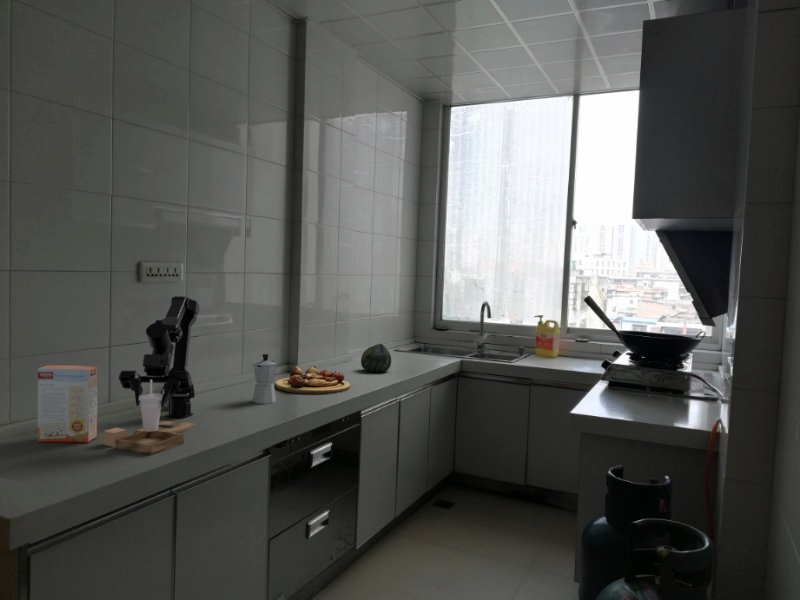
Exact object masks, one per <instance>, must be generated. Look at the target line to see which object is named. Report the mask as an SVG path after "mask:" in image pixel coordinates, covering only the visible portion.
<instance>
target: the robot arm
mask: <svg viewBox="0 0 800 600" xmlns="http://www.w3.org/2000/svg"><path fill="white" fill-rule="evenodd" d="M199 313H200V304H199V303H198V301H196V300H194V299H191V298H190V297H188V296H185V295H184V296H179V295H178V296H177V295H176V296H175V295H174V296H172V297H171V300H170V305H169V308H168V310H167V312H166V314H165V317H164V318H162V319H156V320H155V322H154V323H151V324H150V325H148V326H147V327H146V329H145V333H146V337H147V340H148V343H149V346H150V349H151V348H152V351H151V353H150V354H149V353H146V354H144V355H143V359H142V367H144V369H143V371H144V372H143V373H146V374H140V373H138V372H137V371H136V370H133V369H132V370H130V369H128V370H127V369H126V370H124V369H123V370H121V371H120V373H119V375H118V380H119V382H120V384H121V387H122V388H123V389H125V390H126V389H127V390H128V389H129V390H131V391H133V392H134V399H135V405H136V407H139V406H140V400H139V396H140V395H142V394H143V391H144V389H143V385H142V383H149V384H150V379H152V384H163V398H162V403H161V407H164V406H165V405H166V404H167V403H168V413H167V414H164V416H165V417H166V418H167V417H168V418H175V419H182V418H187V417H190V416H192V415H194V412H192V411H191V410H192V407H191V406H192V402H191V399H195V396H196V395H195V393H196V391H195V387H194V386H195V385H194V383H193V380H192V376H191V373H190V372H189V370H188V361H189V353H190V341H191V340H190V339H191V331H192V329H191V328H192V326H193V325H194V323H195V322H196V321H197V317H198V315H199ZM174 343H175V344H174ZM172 359H173V360H172ZM172 361H173V362H172ZM171 363H172V368H171Z"/></svg>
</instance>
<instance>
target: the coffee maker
mask: <svg viewBox="0 0 800 600" xmlns="http://www.w3.org/2000/svg"><path fill="white" fill-rule="evenodd" d="M262 359H263V360H259V361H256V362H254V363H253V367H254V368H253V370H254V376H255V382H256V383H255V384H254V385H255V386H254V390H253V396H252V402H253V404H256V405H258V404H259V405H271V404H270V403H272V404H275V403H276V402H277V399H276V391H275V383H273V382H274V381H275V375H276V369H277V362H275V360H268V359H269V353H263V354H262Z"/></svg>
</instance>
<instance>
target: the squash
mask: <svg viewBox="0 0 800 600" xmlns="http://www.w3.org/2000/svg"><path fill="white" fill-rule="evenodd" d="M360 358H361V359H360V363H361V364H360V365H361V367H362V369H363V370H365V371H367V372H378V373H380V372H382V373H385V372H384V371H386V372H387V371H388V370H389V369H390V368H391V366H392V356H391V353H390V351H389V350H388V349H387V348H386V346H385V345H384V344H383V343H377V344H374V345H372V346H370V347H368V348H366V349H364V352H362V355H361V357H360Z"/></svg>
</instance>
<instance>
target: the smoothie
mask: <svg viewBox="0 0 800 600" xmlns="http://www.w3.org/2000/svg"><path fill="white" fill-rule="evenodd" d="M163 395H164V393H159V392H153V383H152V379H150V383H149V392H148V393H142V395H140V396H139V400H140V404H139V406H140V413H141V421H142V427H143V430H144V431H147V432H151V431H156V430H158V425H159V420H160V416H161V411H162V405H161V403H162V398H163Z"/></svg>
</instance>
